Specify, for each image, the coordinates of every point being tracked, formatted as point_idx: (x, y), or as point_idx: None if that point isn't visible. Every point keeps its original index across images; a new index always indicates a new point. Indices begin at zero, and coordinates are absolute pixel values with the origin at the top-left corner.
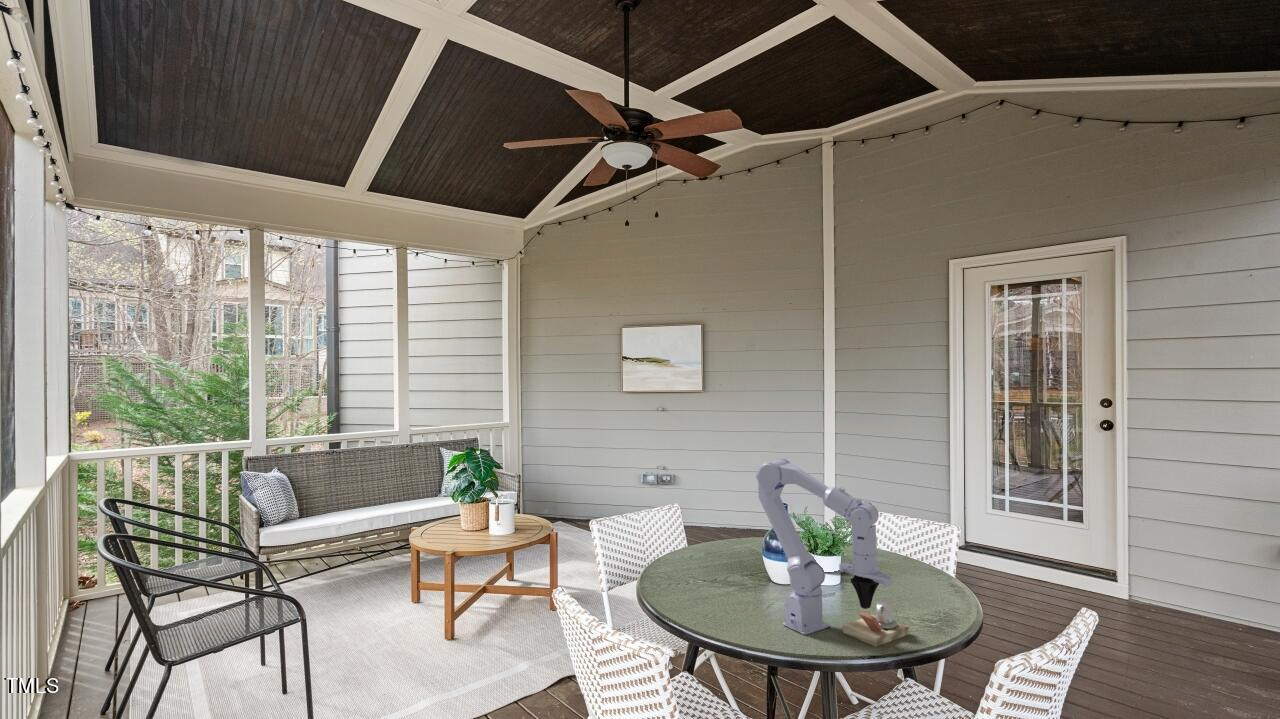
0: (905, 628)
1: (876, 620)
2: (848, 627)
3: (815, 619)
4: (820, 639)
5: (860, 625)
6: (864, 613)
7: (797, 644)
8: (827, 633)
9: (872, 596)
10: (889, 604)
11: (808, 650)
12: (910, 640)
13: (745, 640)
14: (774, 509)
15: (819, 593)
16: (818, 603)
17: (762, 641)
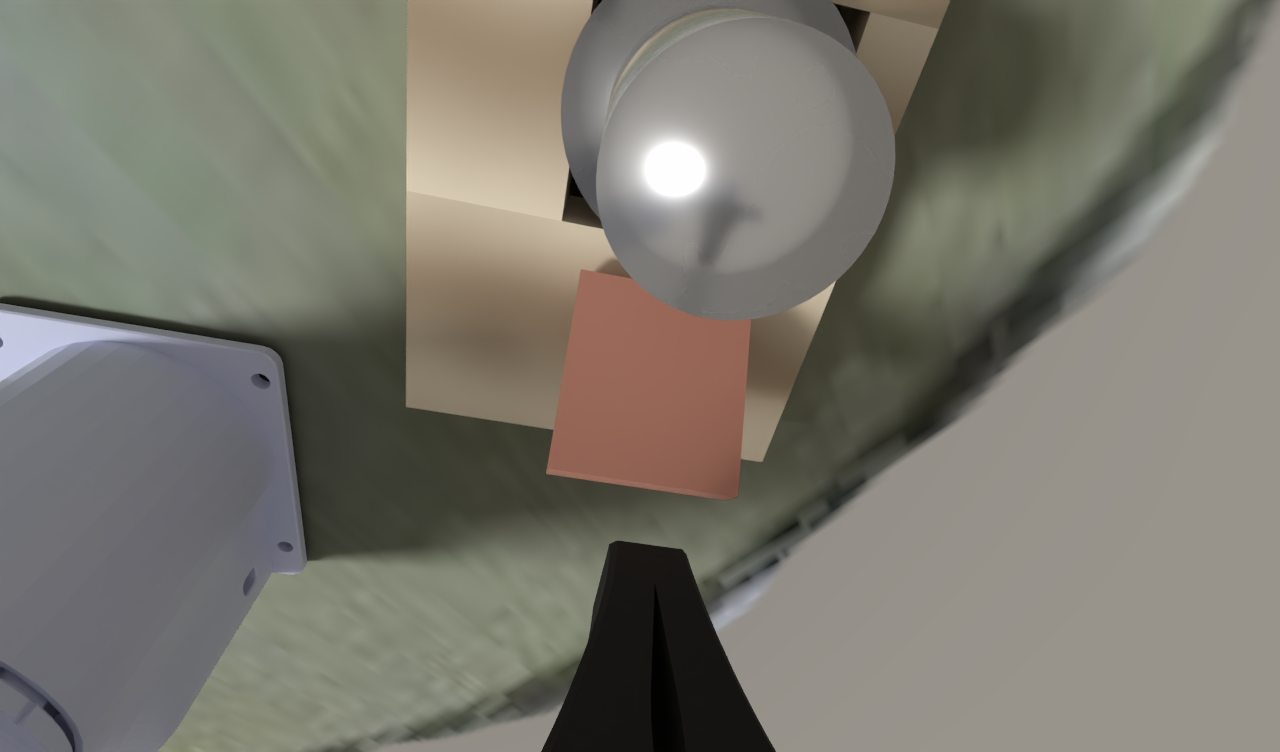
0: (943, 5)
1: (739, 436)
2: (474, 416)
3: (234, 539)
4: (411, 543)
5: (521, 313)
6: (600, 478)
7: (382, 652)
8: (364, 448)
9: (735, 696)
10: (822, 111)
11: (474, 665)
12: (974, 90)
13: (196, 742)
14: None
15: (45, 744)
16: (140, 640)
17: (249, 713)
